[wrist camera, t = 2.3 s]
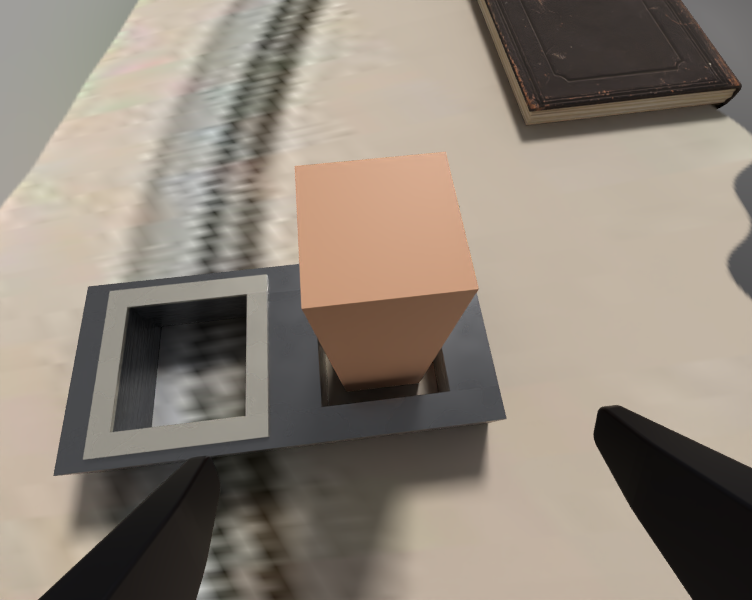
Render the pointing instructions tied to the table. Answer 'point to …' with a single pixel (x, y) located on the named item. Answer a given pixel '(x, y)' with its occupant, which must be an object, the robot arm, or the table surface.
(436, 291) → the peg
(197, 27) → the table surface
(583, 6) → the hardcover book
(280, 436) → the block with square holes
